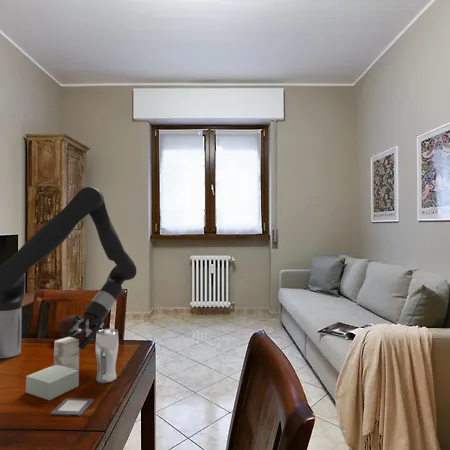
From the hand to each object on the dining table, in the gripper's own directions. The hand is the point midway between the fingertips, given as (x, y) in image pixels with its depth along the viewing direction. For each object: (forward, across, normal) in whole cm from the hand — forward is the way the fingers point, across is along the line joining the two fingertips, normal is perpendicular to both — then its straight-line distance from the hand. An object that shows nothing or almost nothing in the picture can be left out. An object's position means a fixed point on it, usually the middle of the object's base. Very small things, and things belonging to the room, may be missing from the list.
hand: (72, 346), depth 120 cm
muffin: (-8, -26, +19) cm, 33 cm away
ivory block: (+7, 0, +4) cm, 8 cm away
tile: (+17, +24, -7) cm, 30 cm away
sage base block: (+15, +9, -4) cm, 18 cm away
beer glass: (+5, +17, +5) cm, 19 cm away
